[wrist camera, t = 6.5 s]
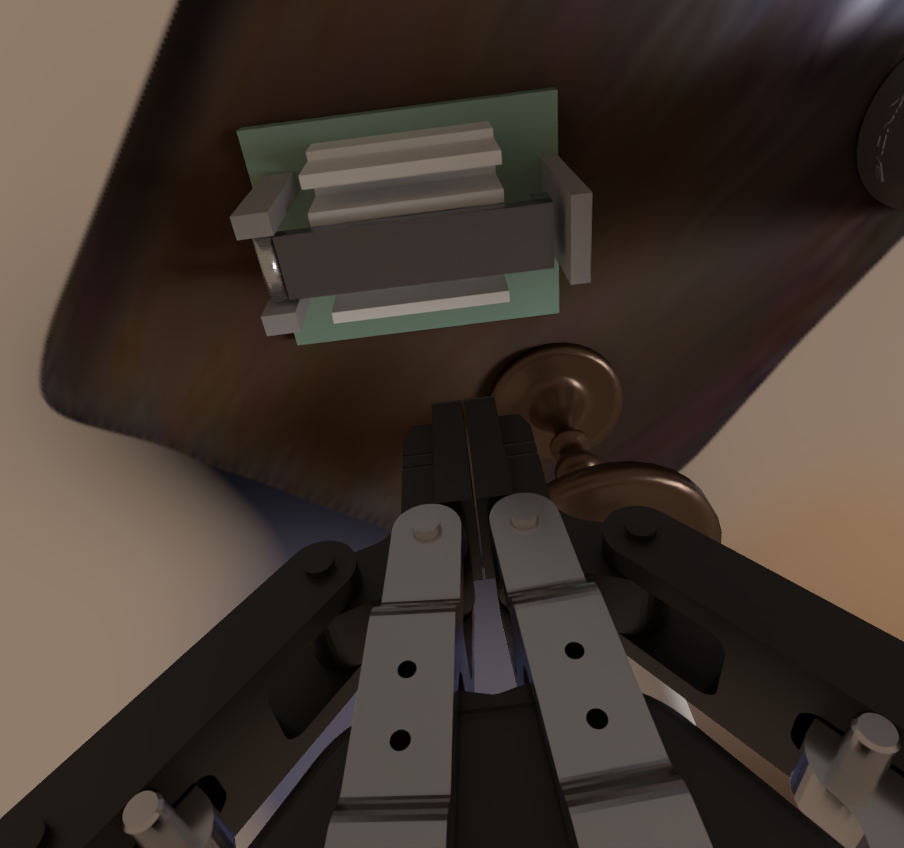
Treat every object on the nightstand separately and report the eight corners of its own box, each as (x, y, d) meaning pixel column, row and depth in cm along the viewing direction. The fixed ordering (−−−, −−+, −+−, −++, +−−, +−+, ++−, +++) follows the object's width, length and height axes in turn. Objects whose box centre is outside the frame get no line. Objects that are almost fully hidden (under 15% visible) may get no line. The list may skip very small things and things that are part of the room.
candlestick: (653, 423, 43) (1127, 1249, 15) (516, 485, 46) (694, 1290, 17) (598, 300, 38) (1194, 1254, 9) (445, 378, 40) (536, 1314, 12)
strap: (546, 191, 28) (554, 203, 27) (547, 254, 30) (554, 268, 28) (258, 227, 29) (249, 240, 27) (276, 287, 30) (268, 303, 29)
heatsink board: (553, 87, 31) (595, 113, 24) (555, 306, 38) (589, 375, 31) (241, 127, 31) (192, 165, 24) (299, 337, 38) (275, 414, 31)
